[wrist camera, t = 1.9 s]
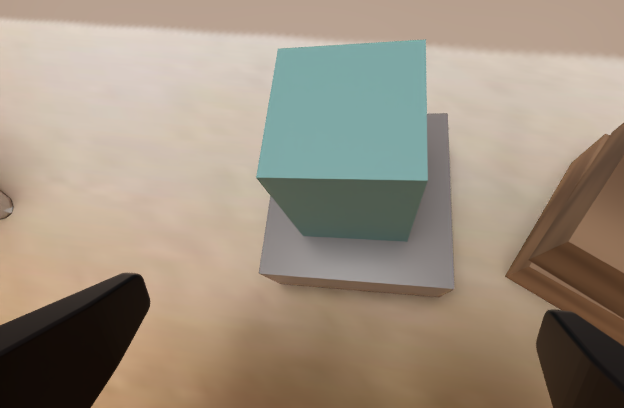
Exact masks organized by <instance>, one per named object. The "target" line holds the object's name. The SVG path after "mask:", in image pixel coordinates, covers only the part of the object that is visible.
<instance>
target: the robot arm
mask: <svg viewBox="0 0 624 408" xmlns="http://www.w3.org/2000/svg"><path fill="white" fill-rule="evenodd" d="M149 307H150V297H149V294H148V291H147V288H146V285H145V282H144V279H143V277H142V276H141V275H140V274H136V273H122V274H119V275H117V276H115V277H112V278H110V279H108V280H105V281H103V282H101V283H98V284H96V285H94V286H91V287H89V288H87V289H84V290H82V291H80V292H77V293H75V294H73V295H70V296H68V297H66V298H63V299H61V300H59V301H56V302H54V303H52V304H49V305H47V306H45V307H42V308H40V309H37V310H35V311H33V312H30V313H28V314H26V315H23V316H21V317H19V318H16V319H14V320H12V321H9V322H7V323H5V324H2V325H0V408H91V406H92V405H93V403H94V402H95V400H96V399H97V397H98V396H99V394H100V393H101V391H102V390H103V388H104V387H105V385H106V384H107V382H108V381H109V379H110V378H111V376H112V375H113V373H114V371H115V370H116V368H117V367H118V365H119V363H120V361H121V360H122V358H123V356H124V354H125V352H126V351H127V349H128V347H129V345H130V343H131V341H132V339H133V338H134V336H135V334H136V332H137V330H138V328H139V327H140V325H141V323H142V321H143V319H144V317H145V316H146V314H147V312H148V310H149ZM536 348H537V353H538V357H539V360H540V364H541V367H542V371H543V374H544V378H545V381H546V385H547V388H548V391H549V395H550V398H551V402H552V405H553V408H624V346H623V345H622V344H620V343H619V342H617V341H616V340H614V339H613V338H611V337H610V336H608V335H607V334H605V333H604V332H602V331H601V330H599V329H598V328H597V327H595V326H594V325H592V324H591V323H589V322H588V321H586V320H585V319H583V318H582V317H580V316H579V315H577V314H576V313H574V312H571V311H564V310H548V311H547V312H546V313H545V315H544V317H543V321H542V324H541V327H540V330H539V334H538V337H537V341H536Z"/></svg>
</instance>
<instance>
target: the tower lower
mask: <svg viewBox="0 0 624 408" xmlns="http://www.w3.org/2000/svg"><path fill="white" fill-rule="evenodd" d="M609 136H610V135H607V134H605V135H603V136H602V137H601V138H600V139H599V140H598V141H596V142H595V143H594V144H593V145H592V146H591V147H589V148H588V149H587V150H586V151H585V152H584V153H582V154H581V155H580V156H579V157H578V158H577V159H575V160H574V161H573V162H572V163H571V165H570V166H569V168H568V170H567V172H566V173H565V175H564V177H563V178H562V180H561V182H560V184H559V185H558V187H557V189H556V190H555V192H554V194H553V195H552V197H551V199H550V201H549V202H548V204H547V206H546V207H545V209H544V211H543V213H542V214H541V216H540V218H539V219H538V221H537V223H536V224H535V226H534V228H533V230H532V231H531V233H530V235H529V236H528V238H527V240H526V242H525V243H524V245H523V247H522V248H521V250H520V252H519V254H518V255H517V257H516V259H515V260H514V262H513V264H512V265H511V267H510V269H509V271H508V272H507V274H506V276H505V277H507V278H509V279H510V280H512V281H514V282H515V283H517V284H519V285H520V286H522V287H524V288H526V289H527V290H529V291H531V292H532V293H534V294H536V295H537V296H539V297H541V298H542V299H544V300H546V301H547V302H549V303H551V304H553V305H554V306H556V307H558V308H559V309H561V310H564V311H571V312H574V313H576V314H577V315H579V316H580V317H582V318H583V319H585V320H586V321H588V322H589V323H591V324H592V325H594V326H595V327H597V328H598V329H599V330H601V331H602V332H604V333H605V334H607V335H608V336H610V337H611V338H613V339H614V340H616V341H617V342H619V343H620V344H622V345H623V346H624V319H623V318H622V317H620V316H618V315H617V314H615V313H613V312H612V311H610V310H609V309H607V308H605V307H604V306H602V305H600V304H599V303H597V302H596V301H594V300H592V299H591V298H589V297H587V296H586V295H584V294H583V293H581V292H579V291H578V290H576V289H575V288H573V287H571V286H570V285H568V284H566V283H565V282H563V281H562V280H560V279H558V278H557V277H555V276H553V275H552V274H550V273H549V272H547V271H545V270H544V269H542V268H540V267H539V266H537V265H536V264H534V263H532V262H531V261H529V260H528V259H529V258H530V256H531V255H532V253H533V252H534V250H535V249H536V247H537V246H538V244H539V243H540V241H541V240H542V238H543V237H544V235H545V233H546V232H547V230H548V229H549V227H550V226H551V224H552V223H553V221H554V220H555V218H556V217H557V215H558V214H559V212H560V211H561V209H562V208H563V206H564V205H565V203H566V202H567V200H568V199H569V197H570V196H571V194H572V193H573V191H574V189H575V188H576V186H577V185H578V183H579V182H580V180H581V179H582V177H583V176H584V174H585V173H586V171H587V170H588V168H589V167H590V165H591V164H592V162H593V161H594V159H595V158H596V156H597V155H598V153H599V152H600V150H601V149H602V147H603V146H604V144H605V142H606V141H607V139H608V138H609Z"/></svg>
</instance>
